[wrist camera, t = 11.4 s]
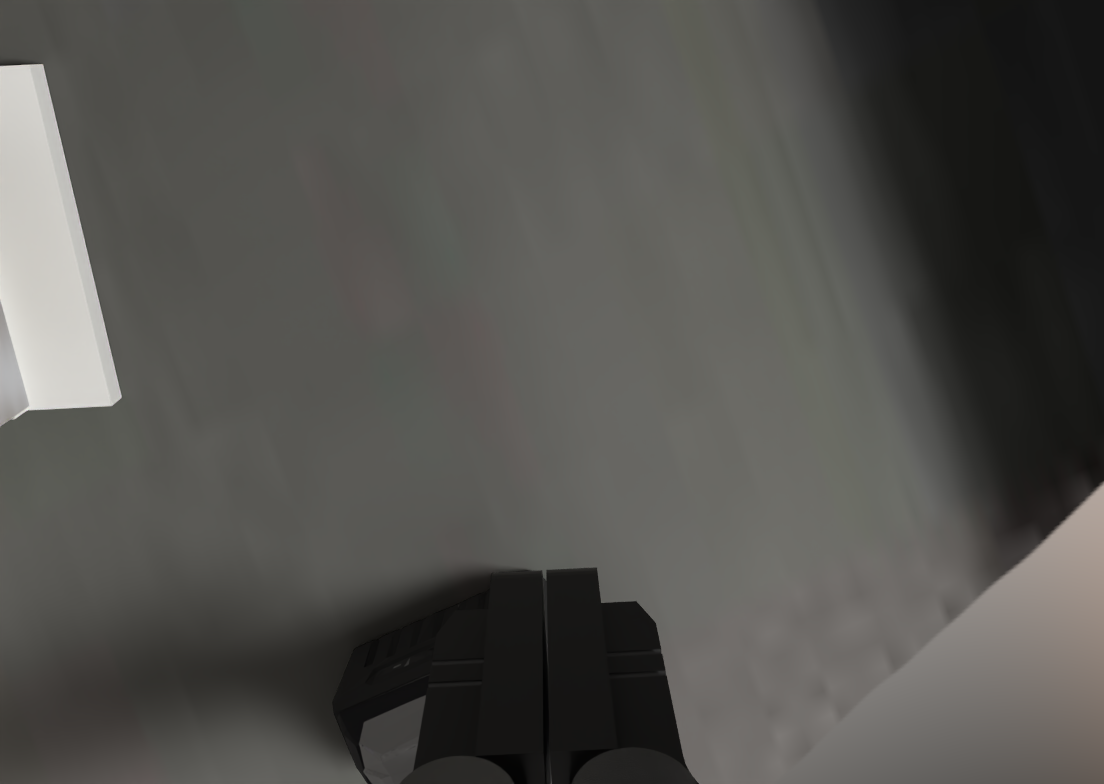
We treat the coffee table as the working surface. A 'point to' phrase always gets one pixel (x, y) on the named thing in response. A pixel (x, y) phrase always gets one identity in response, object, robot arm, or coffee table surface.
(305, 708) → the coffee table surface
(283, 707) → the coffee table surface
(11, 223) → the dock
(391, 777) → the cordless drill
